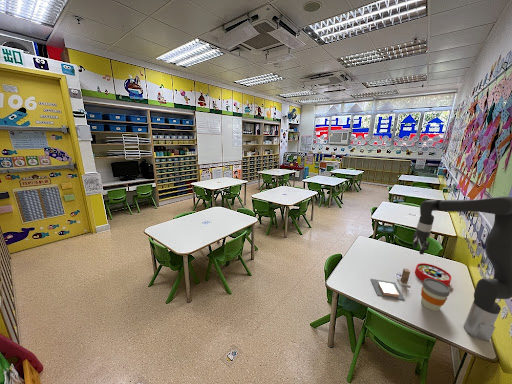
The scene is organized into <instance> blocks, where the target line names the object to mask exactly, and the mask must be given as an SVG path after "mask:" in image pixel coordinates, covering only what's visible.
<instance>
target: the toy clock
mask: <svg viewBox="0 0 512 384" xmlns="http://www.w3.org/2000/svg"><path fill="white" fill-rule="evenodd" d="M414 275H415V276H416V277H417V278H418V279H419V280H420V281H422V282H423V281H424V280H425V279H428V278H429V279H434V280H437V281H440V282H442V283H444V284H445V285H446V286H448V287H449V286H450V284H451V281H452V276H451V274H450V273H449V272H447V271H446V270H445V269H443V268H441V267H439V266H437V265H434V264H430V263H425V262H420V263H417V265H416V267H415V270H414Z"/></svg>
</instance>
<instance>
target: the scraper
mask: <svg viewBox="0 0 512 384" xmlns="http://www.w3.org/2000/svg"><path fill="white" fill-rule="evenodd" d="M410 274H411V271H410V269H408V268H403V270H402V273H401V277H400V278H396V280H397V282H398V284H399V286H403V287H408V288H411V284H410V283H409V279H410Z"/></svg>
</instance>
